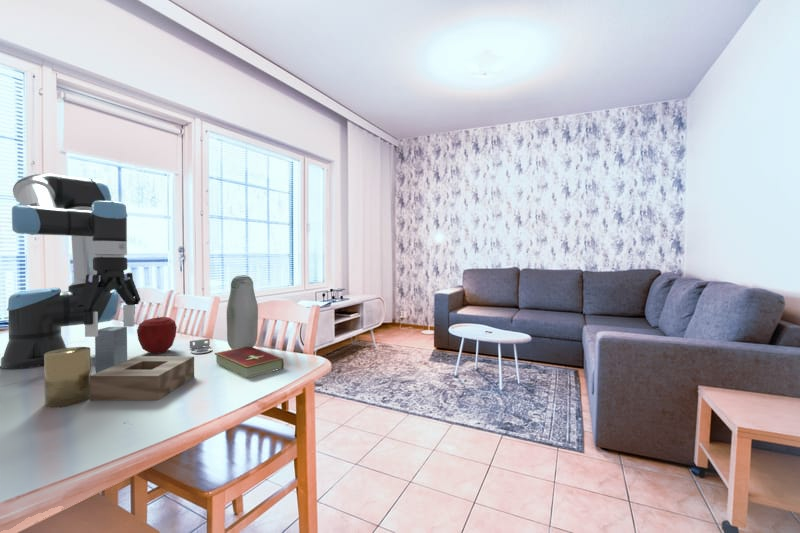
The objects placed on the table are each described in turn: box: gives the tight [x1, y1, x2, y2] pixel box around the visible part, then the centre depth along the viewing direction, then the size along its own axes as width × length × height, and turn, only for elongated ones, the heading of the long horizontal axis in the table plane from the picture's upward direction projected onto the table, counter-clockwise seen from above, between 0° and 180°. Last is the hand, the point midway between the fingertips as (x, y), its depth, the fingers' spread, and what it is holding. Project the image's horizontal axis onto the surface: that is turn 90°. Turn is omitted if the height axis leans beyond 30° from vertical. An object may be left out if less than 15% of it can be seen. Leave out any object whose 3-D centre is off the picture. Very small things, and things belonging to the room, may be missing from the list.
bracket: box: [189, 338, 213, 355], centre depth 127 cm, size 7×10×4 cm, turn 36°
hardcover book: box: [214, 346, 285, 379], centre depth 111 cm, size 12×21×4 cm, turn 51°
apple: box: [136, 316, 178, 355], centre depth 124 cm, size 12×12×13 cm
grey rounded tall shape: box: [226, 274, 259, 350], centre depth 127 cm, size 10×10×28 cm
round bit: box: [43, 346, 92, 409], centre depth 84 cm, size 8×8×12 cm
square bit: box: [94, 326, 128, 374], centre depth 99 cm, size 5×5×14 cm
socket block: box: [89, 355, 195, 401], centre depth 92 cm, size 16×16×6 cm
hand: (111, 331), depth 99 cm, fingers open, 13 cm apart
